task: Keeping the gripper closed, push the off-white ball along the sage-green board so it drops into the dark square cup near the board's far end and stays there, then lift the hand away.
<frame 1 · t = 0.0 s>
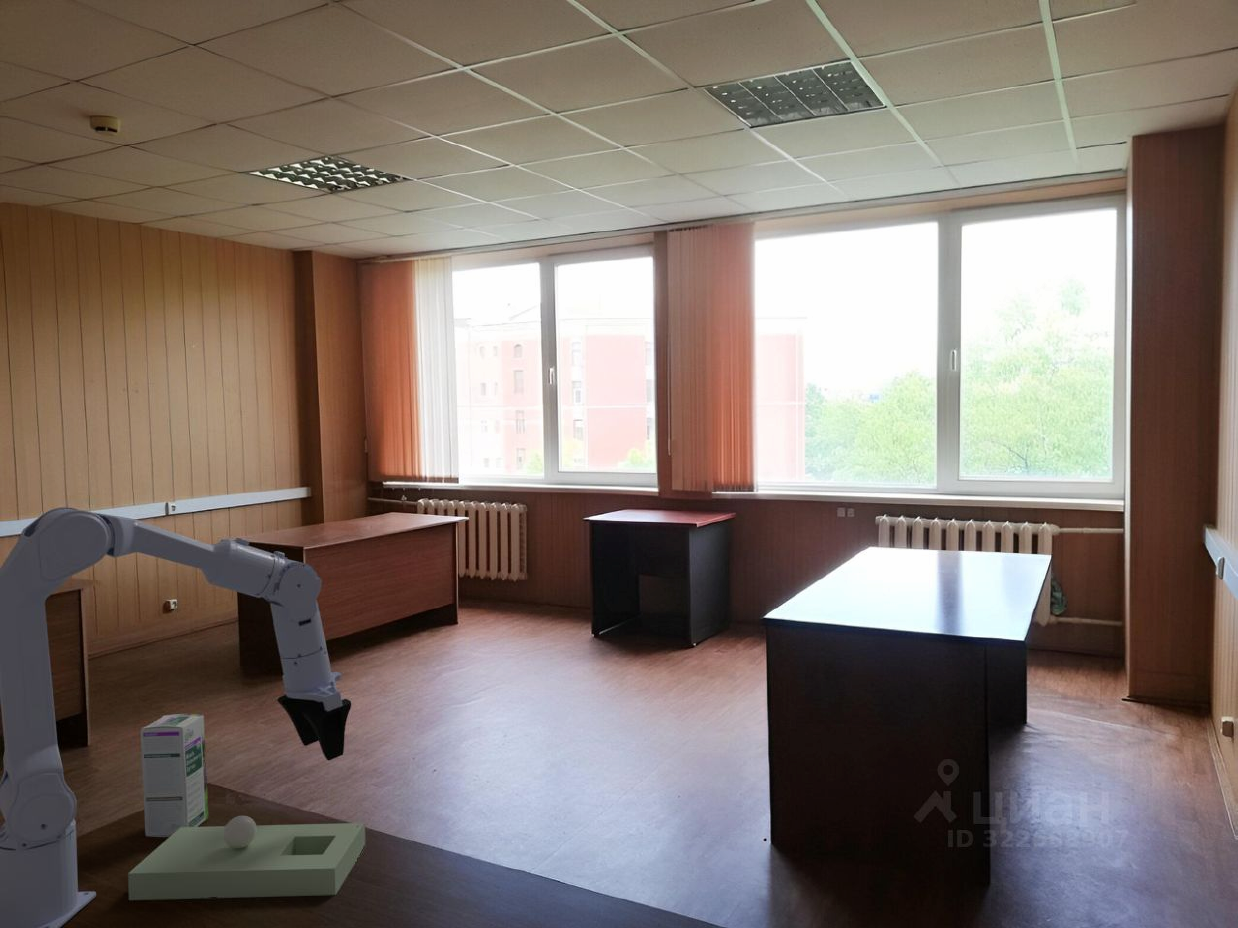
hand: (323, 749, 116), 11 cm above the table, tool pointing down, fingers open, 7 cm apart
green board: (254, 871, 104), on the table
ball: (240, 831, 104), point 5 cm above the table, touching green board
syrup box: (176, 829, 117), on the table
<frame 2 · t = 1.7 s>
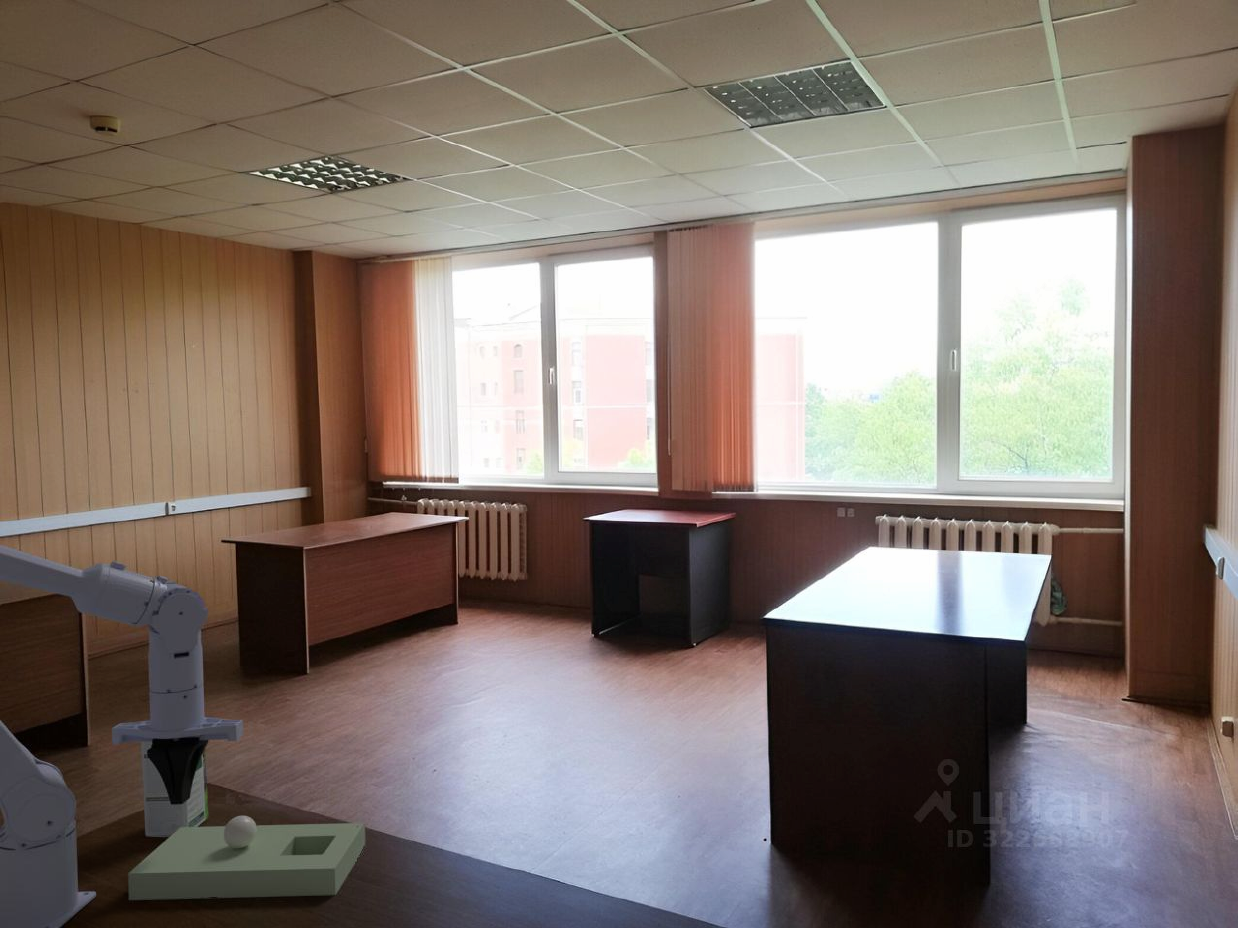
hand: (180, 801, 104), 9 cm above the table, tool pointing down, fingers closed
nothing on the table moved.
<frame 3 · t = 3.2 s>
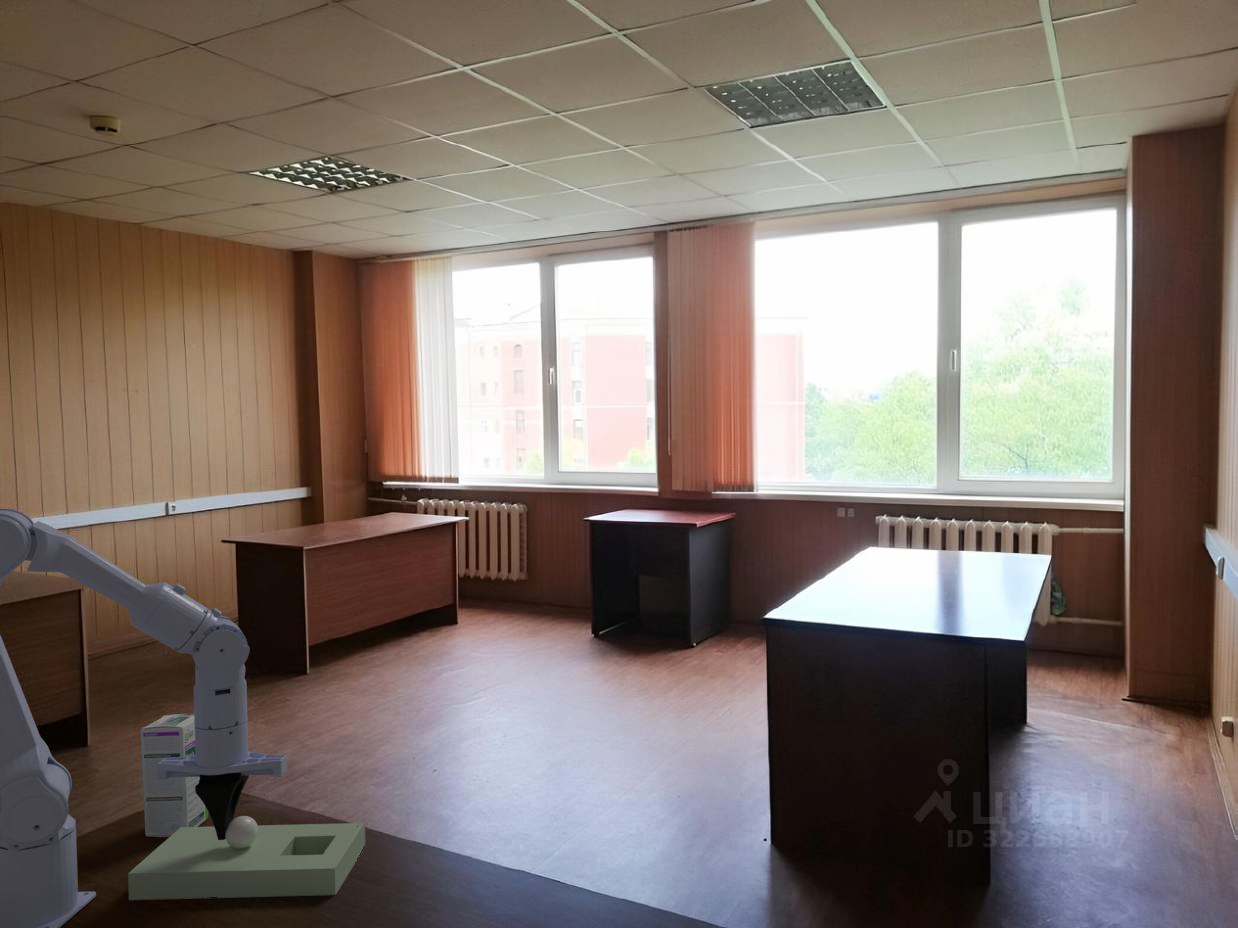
hand: (224, 836, 104), 4 cm above the table, tool pointing down, fingers closed, pressing on ball
ball: (241, 832, 104), point 5 cm above the table, tilted 5°, touching green board, gripper
everything else where it was.
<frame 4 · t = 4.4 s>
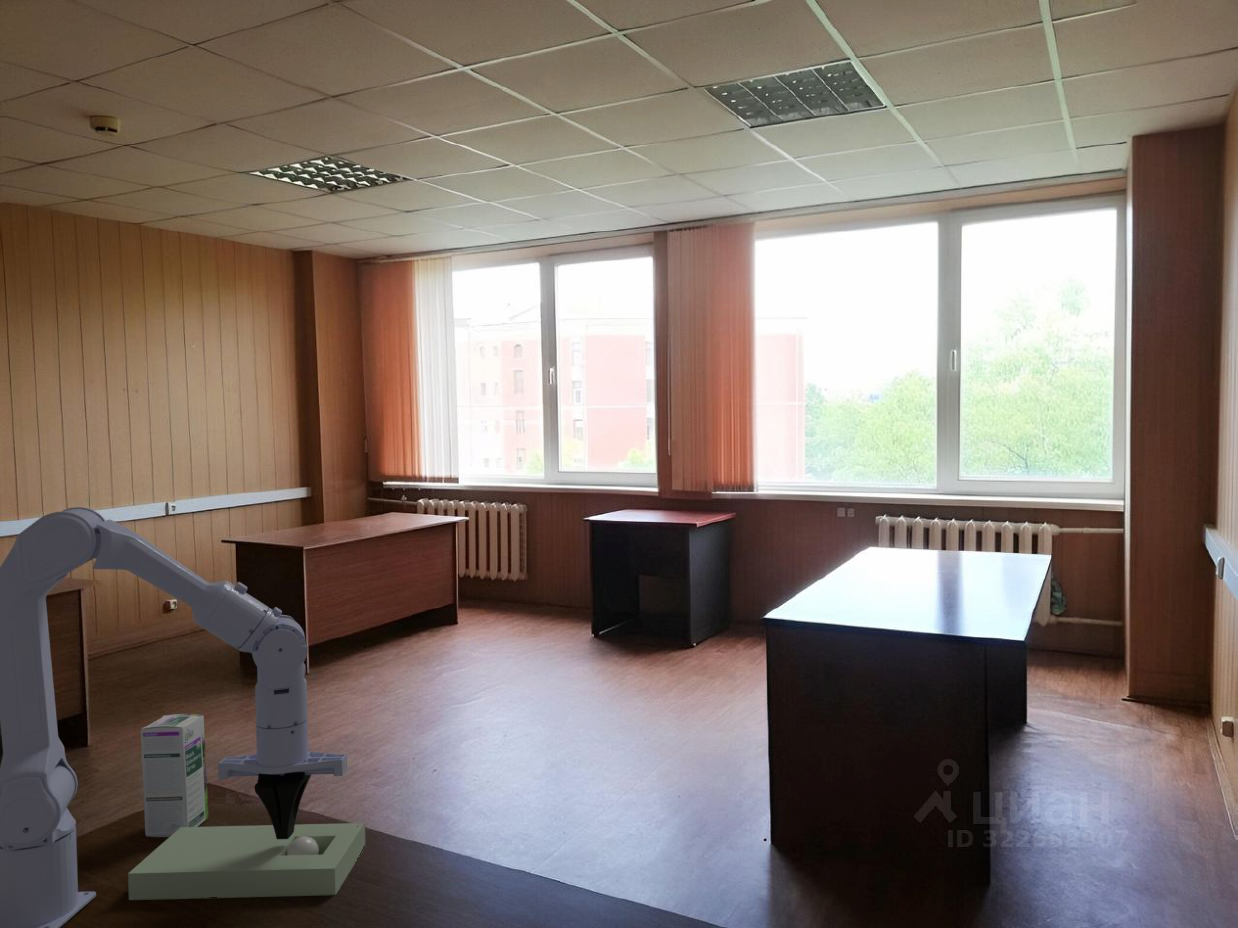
hand: (285, 835, 104), 4 cm above the table, tool pointing down, fingers closed
ball: (302, 852, 104), point 2 cm above the table, tilted 159°, touching green board
everything else where it was.
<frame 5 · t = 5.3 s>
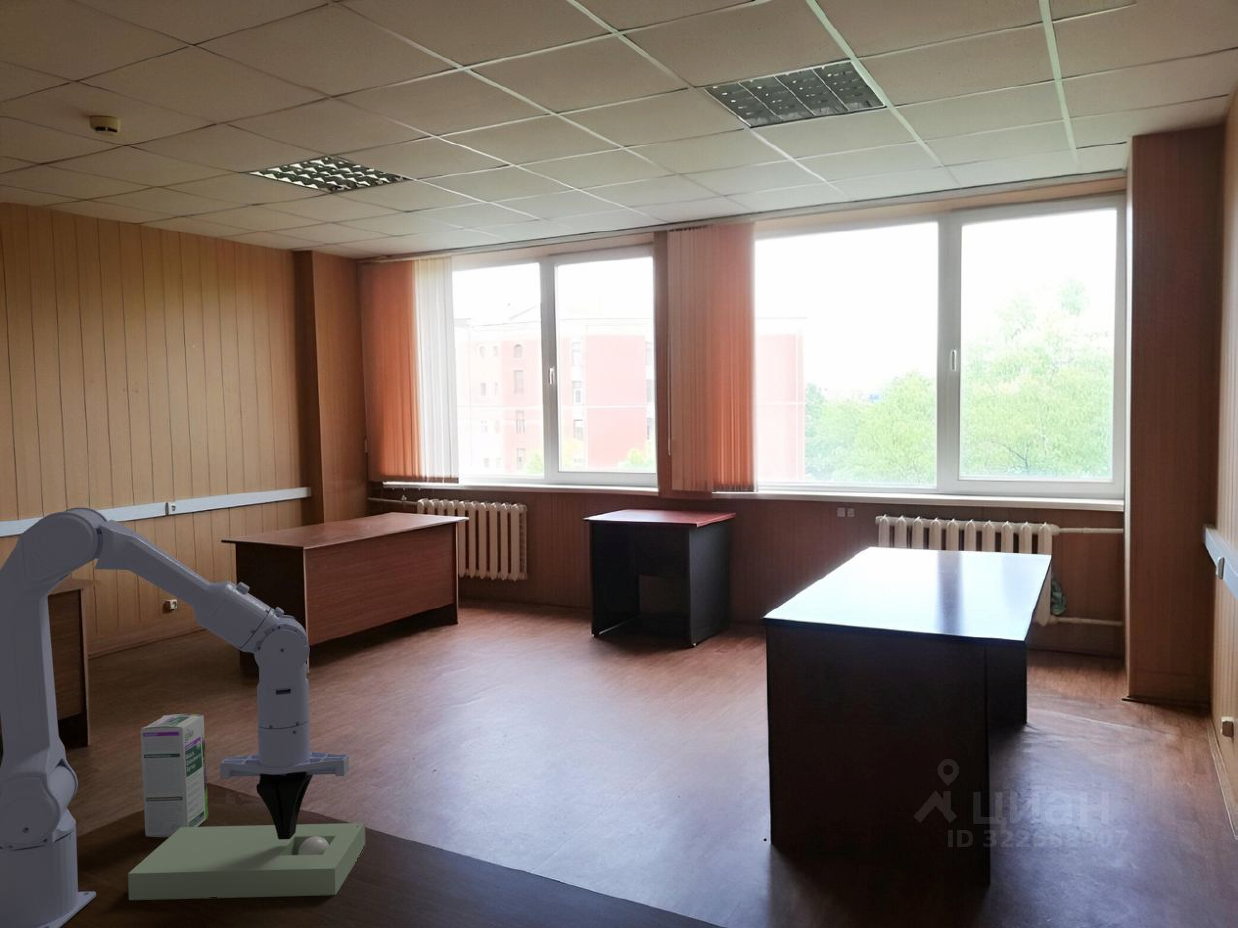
hand: (286, 835, 104), 4 cm above the table, tool pointing down, fingers closed
ball: (314, 852, 104), point 2 cm above the table, tilted 116°, touching green board
everything else where it was.
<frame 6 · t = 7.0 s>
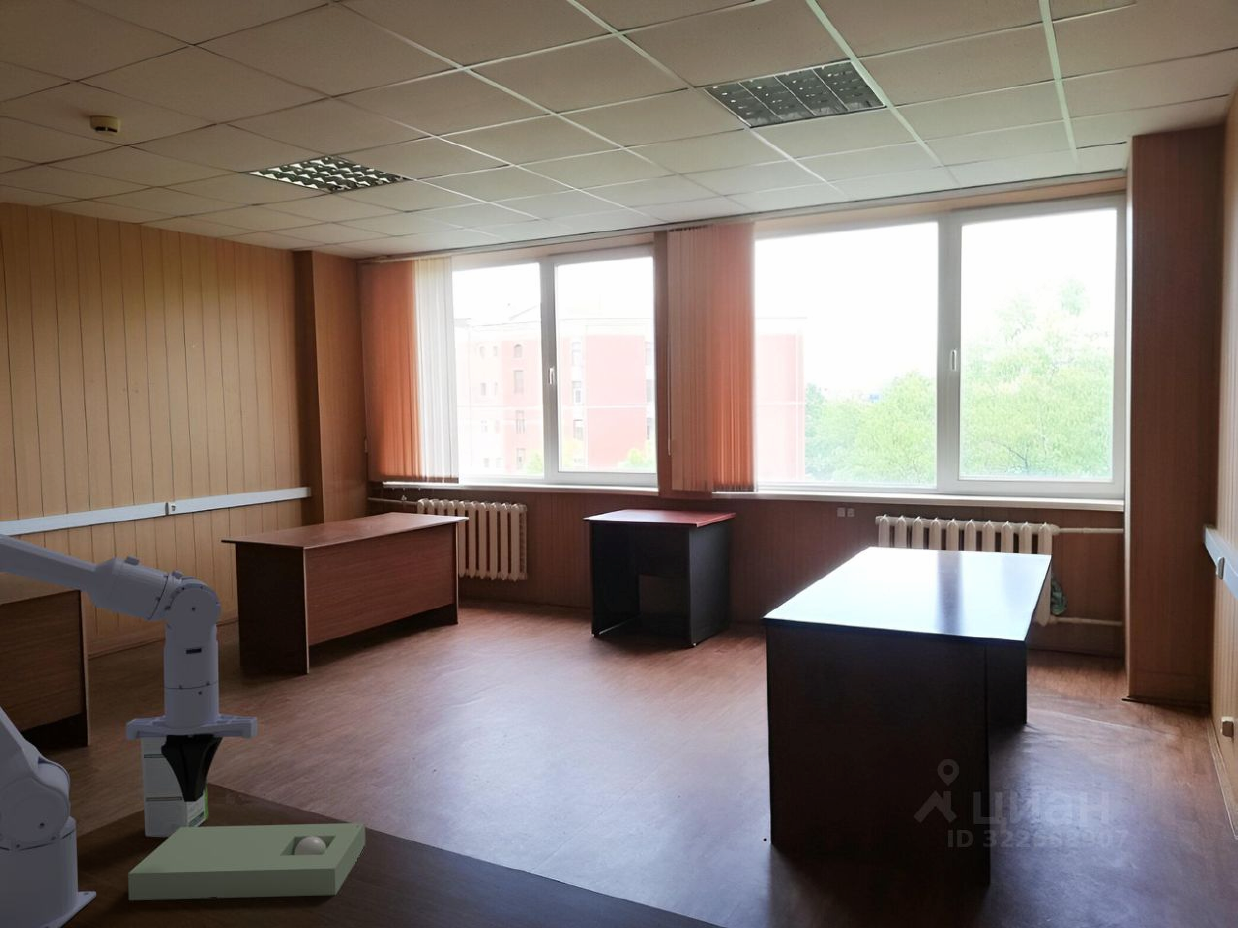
hand: (193, 798, 103), 9 cm above the table, tool pointing down, fingers closed
ball: (310, 852, 104), point 2 cm above the table, tilted 130°, touching green board
everything else where it was.
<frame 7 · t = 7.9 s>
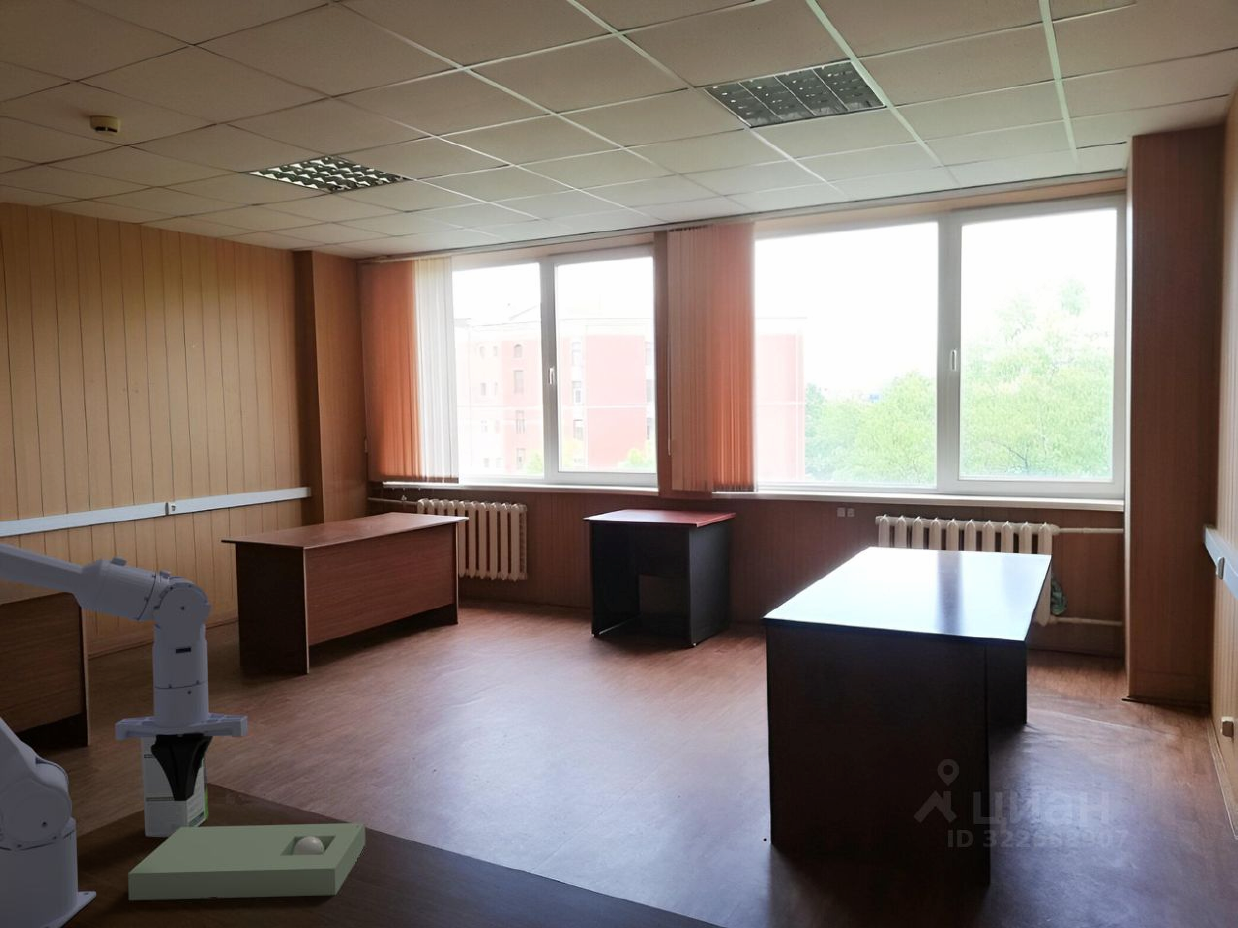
hand: (184, 797, 103), 9 cm above the table, tool pointing down, fingers closed
ball: (308, 852, 104), point 2 cm above the table, tilted 137°, touching green board
everything else where it was.
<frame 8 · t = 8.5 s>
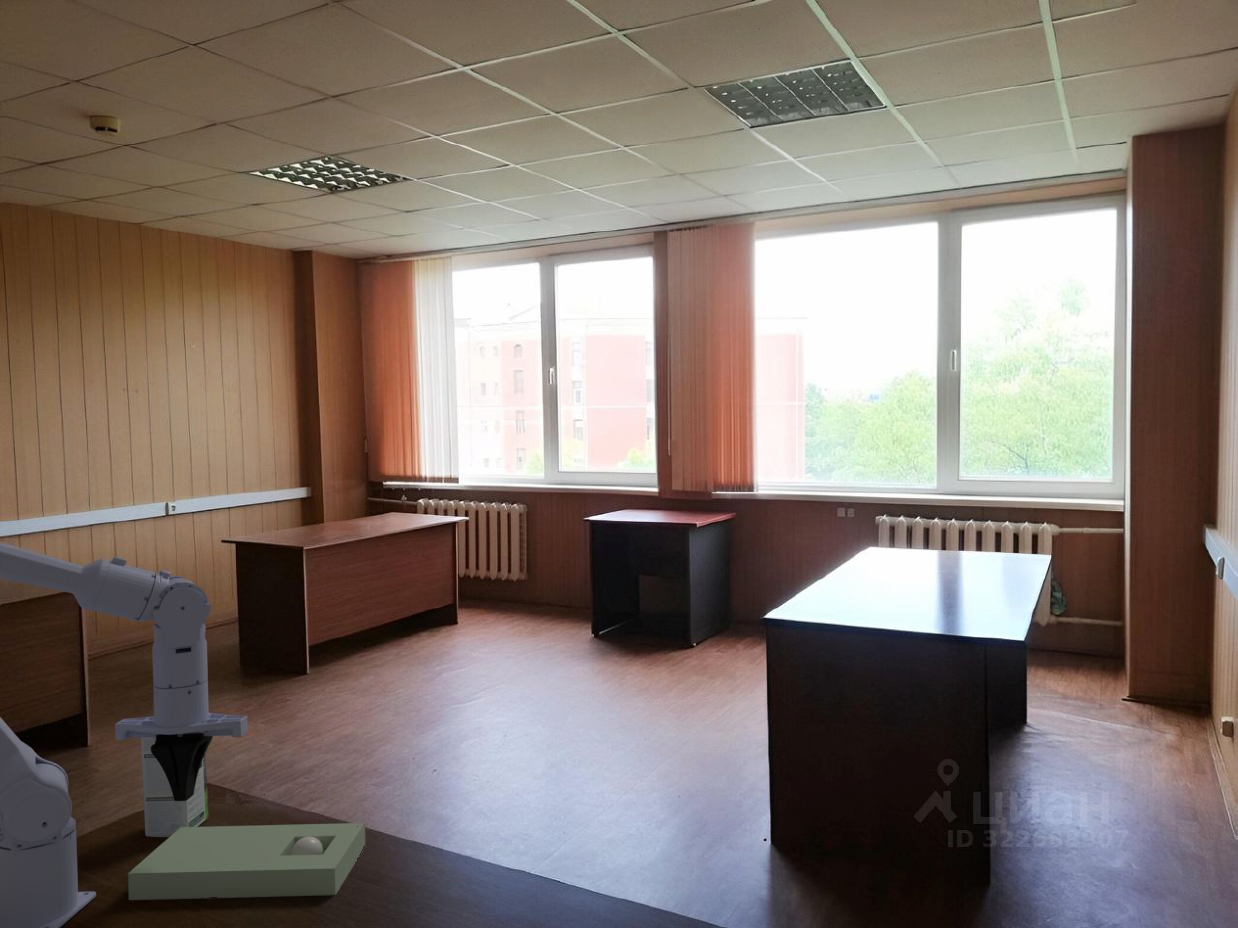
hand: (184, 797, 103), 9 cm above the table, tool pointing down, fingers closed
nothing on the table moved.
at the end: ball 0.2 cm from the target spot on the green board, point 2.1 cm above the green board's base; ball moved 8.3 cm from its start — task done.
